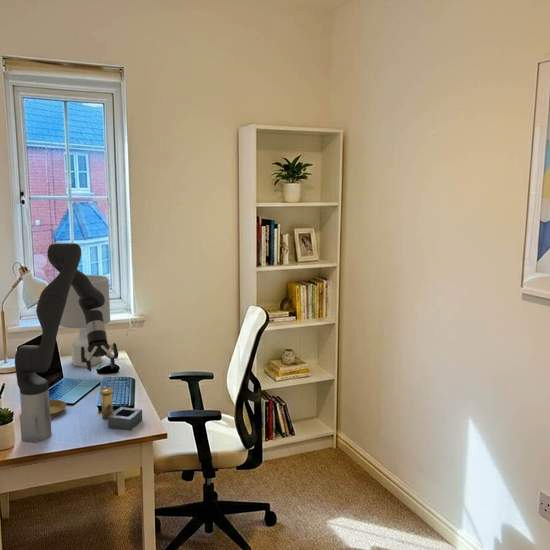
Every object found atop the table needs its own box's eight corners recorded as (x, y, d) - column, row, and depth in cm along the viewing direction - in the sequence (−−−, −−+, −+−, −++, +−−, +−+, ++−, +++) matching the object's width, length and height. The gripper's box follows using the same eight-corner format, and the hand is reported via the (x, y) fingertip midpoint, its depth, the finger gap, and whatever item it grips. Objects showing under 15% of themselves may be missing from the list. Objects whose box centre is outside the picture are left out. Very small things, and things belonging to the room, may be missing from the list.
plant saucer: (57, 402, 220) (56, 396, 220) (73, 413, 210) (73, 407, 210) (19, 413, 210) (19, 406, 209) (35, 425, 200) (34, 418, 199)
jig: (130, 431, 195) (129, 419, 194) (108, 428, 197) (107, 416, 196) (142, 420, 204) (142, 409, 203) (121, 417, 206) (120, 406, 205)
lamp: (115, 353, 283) (112, 274, 275) (107, 369, 259) (103, 283, 252) (68, 355, 280) (63, 275, 273) (55, 371, 256) (49, 283, 249)
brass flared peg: (109, 420, 204) (108, 392, 202) (98, 418, 205) (96, 391, 203) (117, 414, 208) (115, 388, 207) (105, 413, 210) (104, 386, 208)
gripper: (78, 331, 216) (83, 367, 208) (115, 327, 222) (120, 362, 214) (78, 340, 222) (82, 375, 214) (113, 336, 228) (119, 370, 220)
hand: (101, 369), depth 214 cm, fingers open, 8 cm apart
